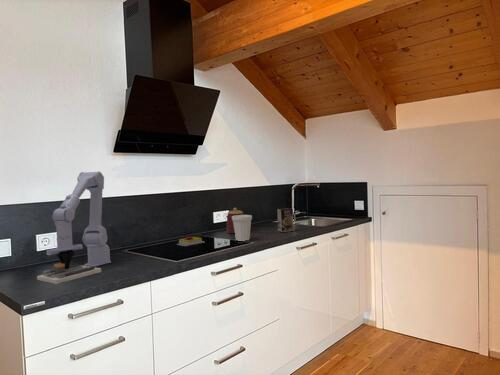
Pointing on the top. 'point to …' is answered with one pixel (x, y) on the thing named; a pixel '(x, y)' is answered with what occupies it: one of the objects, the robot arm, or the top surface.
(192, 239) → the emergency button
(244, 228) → the cup
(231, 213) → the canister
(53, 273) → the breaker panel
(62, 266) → the breaker lever
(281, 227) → the coffee box
